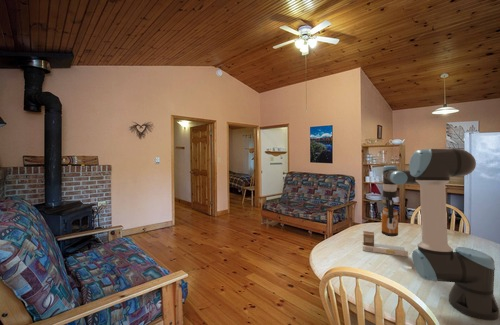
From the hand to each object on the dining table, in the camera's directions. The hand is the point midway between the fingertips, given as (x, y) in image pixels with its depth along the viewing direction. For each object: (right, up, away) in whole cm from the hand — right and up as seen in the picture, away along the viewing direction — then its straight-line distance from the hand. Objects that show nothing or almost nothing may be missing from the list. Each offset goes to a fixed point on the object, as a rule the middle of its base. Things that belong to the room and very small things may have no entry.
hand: (389, 225), depth 153 cm
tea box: (-10, -15, +5) cm, 19 cm away
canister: (0, -6, 0) cm, 6 cm away
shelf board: (-3, -16, +2) cm, 17 cm away
